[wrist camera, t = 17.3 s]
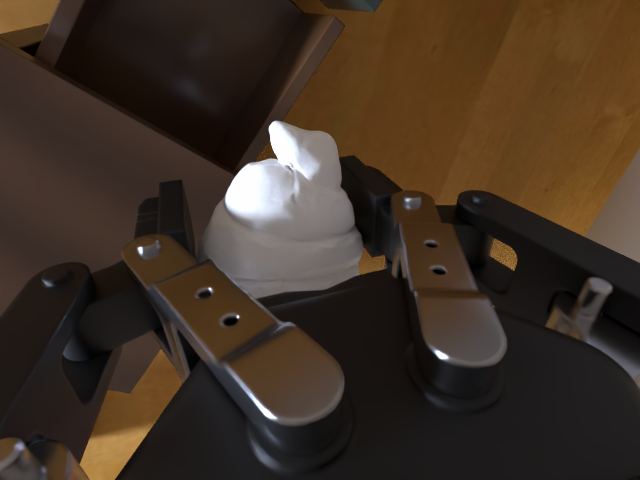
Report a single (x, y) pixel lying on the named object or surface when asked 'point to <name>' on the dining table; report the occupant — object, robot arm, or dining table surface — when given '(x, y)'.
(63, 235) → the cabinet
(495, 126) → the dining table surface
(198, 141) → the drawer
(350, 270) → the garlic bulb
